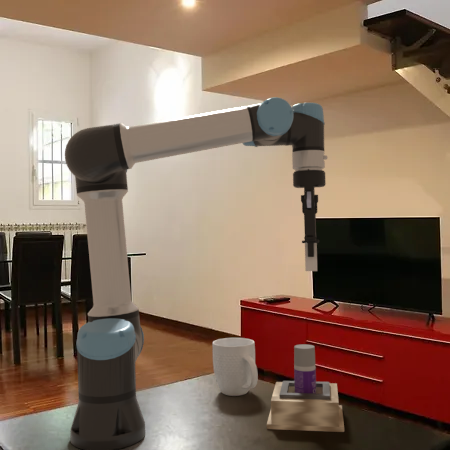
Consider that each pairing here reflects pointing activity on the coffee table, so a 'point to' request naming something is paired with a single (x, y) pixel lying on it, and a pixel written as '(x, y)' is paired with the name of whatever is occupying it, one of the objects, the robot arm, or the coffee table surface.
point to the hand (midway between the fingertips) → (311, 270)
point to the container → (304, 369)
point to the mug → (234, 365)
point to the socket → (306, 408)
